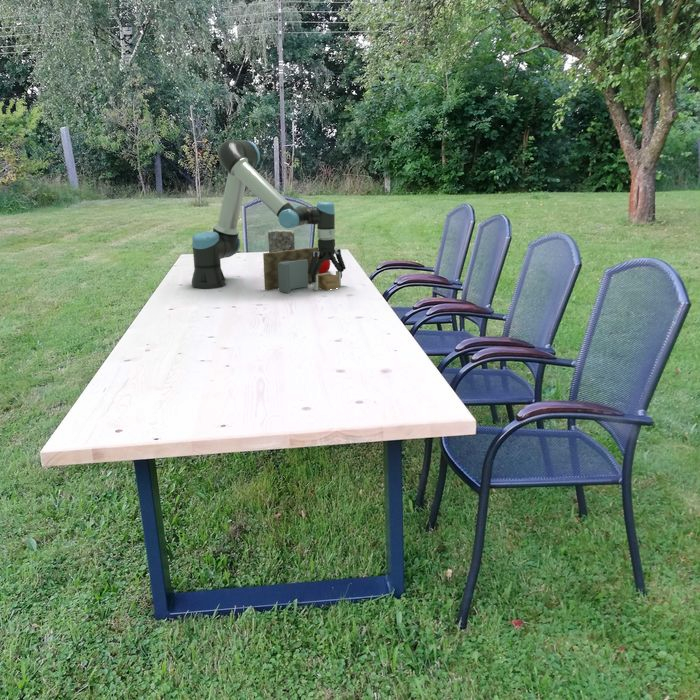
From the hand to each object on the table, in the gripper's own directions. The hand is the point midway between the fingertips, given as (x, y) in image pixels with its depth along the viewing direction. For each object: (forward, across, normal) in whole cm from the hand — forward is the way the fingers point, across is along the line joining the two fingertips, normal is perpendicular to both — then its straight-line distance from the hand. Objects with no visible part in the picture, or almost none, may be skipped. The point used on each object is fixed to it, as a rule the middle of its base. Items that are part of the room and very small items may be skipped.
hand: (327, 287), depth 280 cm
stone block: (0, +10, +52) cm, 53 cm away
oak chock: (0, 0, 0) cm, 0 cm away
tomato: (0, +18, +31) cm, 36 cm away
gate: (0, -12, +6) cm, 14 cm away
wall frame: (0, -8, +14) cm, 16 cm away
